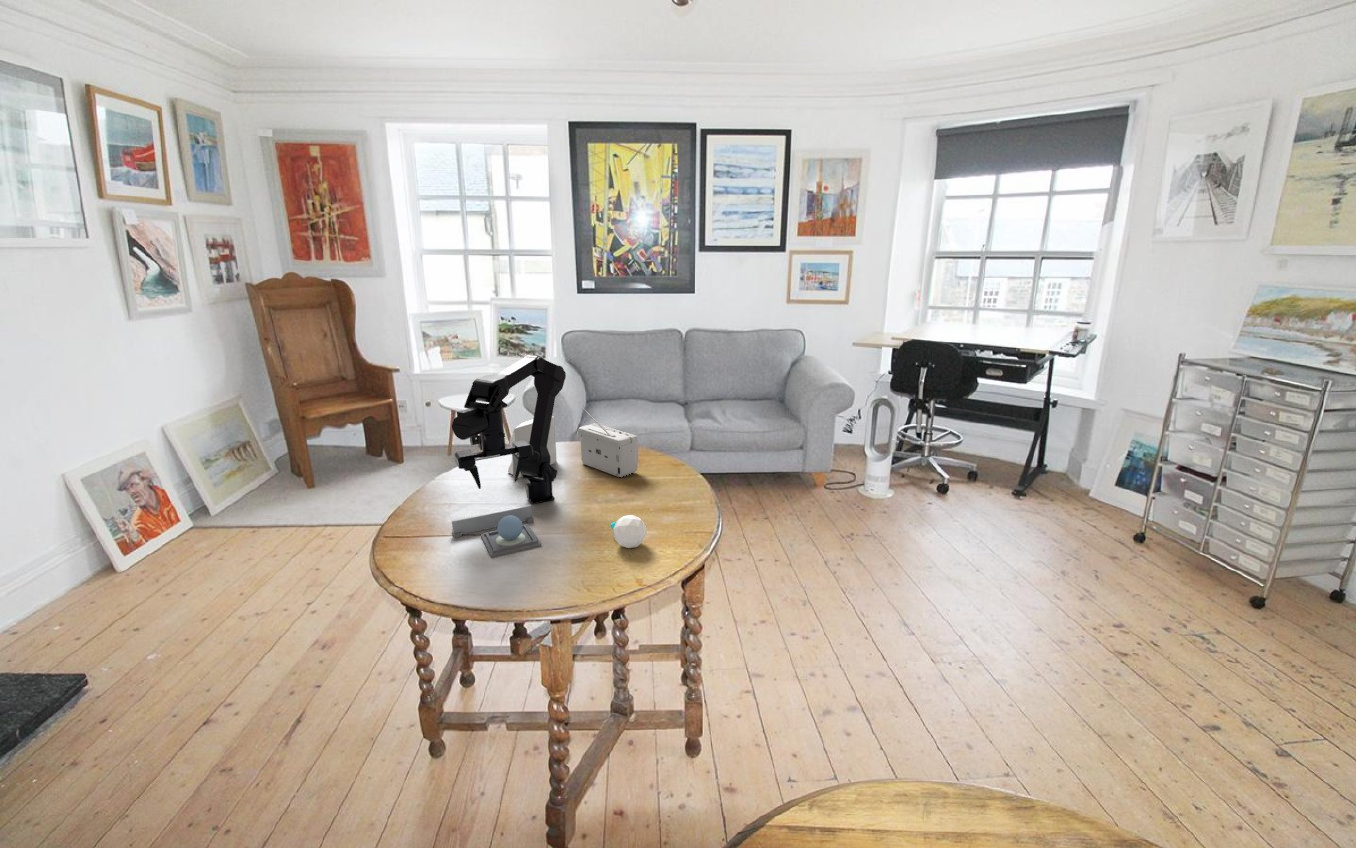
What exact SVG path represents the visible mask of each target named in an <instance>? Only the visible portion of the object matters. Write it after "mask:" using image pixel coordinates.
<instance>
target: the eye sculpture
mask: <svg viewBox="0 0 1356 848" xmlns="http://www.w3.org/2000/svg"><path fill="white" fill-rule="evenodd" d="M555 423H556V422H555V416H553V415H552V419H551V425H550V430H549V436H548V442H547V449H548V452H549V454H550V465H551V466H552V465H554V464H557V463H558V462H557V461H558V460H557V443H556V441H557V440H556V424H555ZM532 424H533V419H530V420H526V421H524V422H522V423H520V424H519V425H517V426H516V427H515V428H514V429H513V431H512V435H511V436H510V438H509V447H512V443H513V442H517V441H522V440H526V441H527V442H528V443H529V441H530V435H531V429H532ZM507 472H508V473H509V474H510V475H513V457H512V456H511V463H510V465H509V466H508V469H507ZM520 478H522V475H521V472H520V473H519V476H518V478H517V479H520Z"/></svg>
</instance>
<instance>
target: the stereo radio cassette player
mask: <svg viewBox="0 0 1356 848" xmlns="http://www.w3.org/2000/svg"><path fill="white" fill-rule="evenodd" d="M584 408H585V407H582V410H584V411H585V412H586V414H587V415H588V416H589V417H590V418H591V419H592V420H593V421H594V423H590V424H586V425H582V426H580V427H578V433H579V434H580V435H579V436H580V456H581V457H580V460H581V462H582V464H583V465H584V466H588V467H591V468H594V469H596V470H599V471H602V472H604V473H607V474H609V475H612V476H615V477H618V478H619V477H621V478H624V477H627V476H630V475H632V474H631V473H633V474H635V473H636V472H637V471H638V469H639V467H638V466H639V442H638V441H639V440H638V436H637V435H635V434H632V433H628V432H625V431H621V430H618V429H616V428H613V427H610V426H609V427H608V426H605V425H601V423H599V421H597V420H596V419H595V418H594V417H593V416H592V415H591V414H590V413H589V412H588V411H587V410H586V408H585V409H584ZM634 472H635V473H634ZM629 474H630V475H629ZM626 475H627V476H626ZM623 476H624V477H623Z"/></svg>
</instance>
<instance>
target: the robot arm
mask: <svg viewBox="0 0 1356 848" xmlns="http://www.w3.org/2000/svg"><path fill="white" fill-rule="evenodd" d="M530 376H531V377H533V386H534V388H535V391H536V393H537V396H536V403H535V408H534V413H533V424H532V429H531V435H530V441H529V443H528V442H527V441H526V440H522V441H517V442H513V443H512V447H510V446H509V447H506V439H505V438H506V433H505V431H504V430H505V429H504V428H505V427H504V418H503V409H505V408H507V407H508V403H506V402H505V401H503V400H504V399H505V398H506V397H507V396H509V393H510V390H511V389H512V388H513V387H515V386H516V385H518V384H519V383H521V382H522V381H523V380H526V379H527V378H529V377H530ZM566 376H567V373H566V371H565V370H564V367H563V366H561V365H557V364H556V363H553V362H550V360H549V361H548V360H546V359H545V358H544V357H541V356H540V355H532V354H531V355H530V354H527V355H525V356H523V358H522V359H520V360H519V361H517V362H515V363H513V364H512V365H509V366H508V367H506V368H505V369H503V370H501V371H500V372H498V373H496V374H495V373H494V374H489V375H488V374H487V375H484V376H480V377H478V378H477V377H476V379H475V380H473V382H472V385H471V386H470V387H471V388H470V390H469V392H468V395H467V398H466V400H465V403H464V405H463V407H464V409H463V410H458V411H457V412H456V417H454V419H453V420H452V423H451V429H452V433H453V434H454V435H455V437H456V438H457V439H459V440H461V441H465V440H468V439H469V442H470V446H476V445H477V447H478V448H479V450H480V452H472V451H471V449H465V450H459V451H456V452H455V453H454V455H453V457H454V463H455V465H456V466H457V468H458V469H459V470H464V471H465V472H469V473H470V474H471V476H472V478H473V480H474V482H475V483H476V487H477V488H478V489H479V490H481V488H482V486H481V484H482V483H481V479H480V475H479V469H478V466H477V465H476V461H481V460H482V461H483V460H487V459H493V458H498V457H499V458H500V457H504V456H511V458H512V457H513V476H512V477H513V481H514V482H515V483H516V482H517V481H518V479H519V478H518V476H519V473H520V472H521V475H522V477H521V478H522V479H526V480H527V483H526V484H525V493H526V498H527V499H528V500H529V501H530V502H531V503H532V504H539V503H544V502H549V501H553V500H555V497H554V495H553V482H554V481H555V479H556V478H557V474H558V470H557V469H555V467H553V466H552V465H550V454H549V452H548V449H547V442H548V436H549V430H550V425H551V419H552V416H553V413H554V407H555V399H556V397H557V395H558V394H559V393H560V392H561V390H563V388H564V385H565V382H566V381H565V380H566Z"/></svg>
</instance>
